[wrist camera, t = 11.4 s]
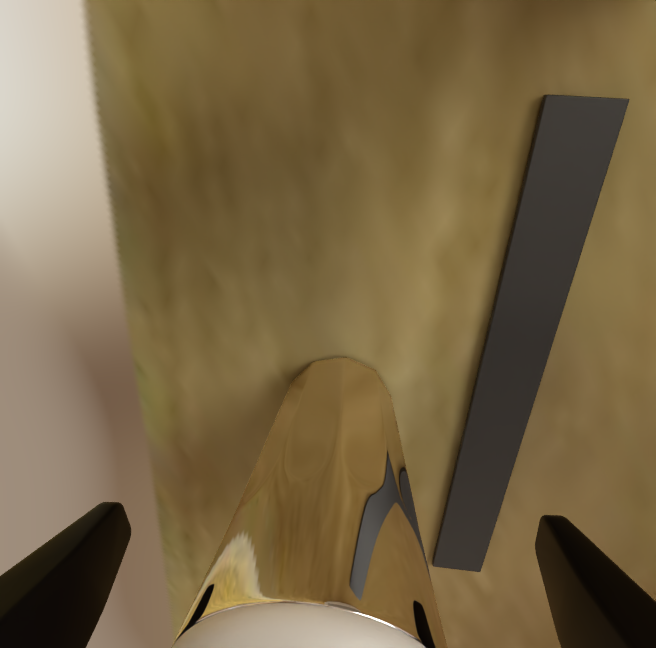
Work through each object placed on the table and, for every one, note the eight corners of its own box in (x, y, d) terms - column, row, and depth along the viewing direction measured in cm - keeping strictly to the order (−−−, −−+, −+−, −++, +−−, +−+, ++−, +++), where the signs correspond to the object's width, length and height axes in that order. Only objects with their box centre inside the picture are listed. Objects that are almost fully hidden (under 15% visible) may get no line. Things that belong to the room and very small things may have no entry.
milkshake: (461, 385, 13) (672, 968, 4) (343, 475, 15) (306, 1002, 6) (354, 288, 12) (315, 782, 3) (242, 398, 14) (14, 897, 5)
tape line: (478, 567, 16) (480, 572, 16) (432, 561, 16) (432, 566, 16) (625, 99, 10) (630, 99, 9) (543, 94, 10) (546, 94, 9)
